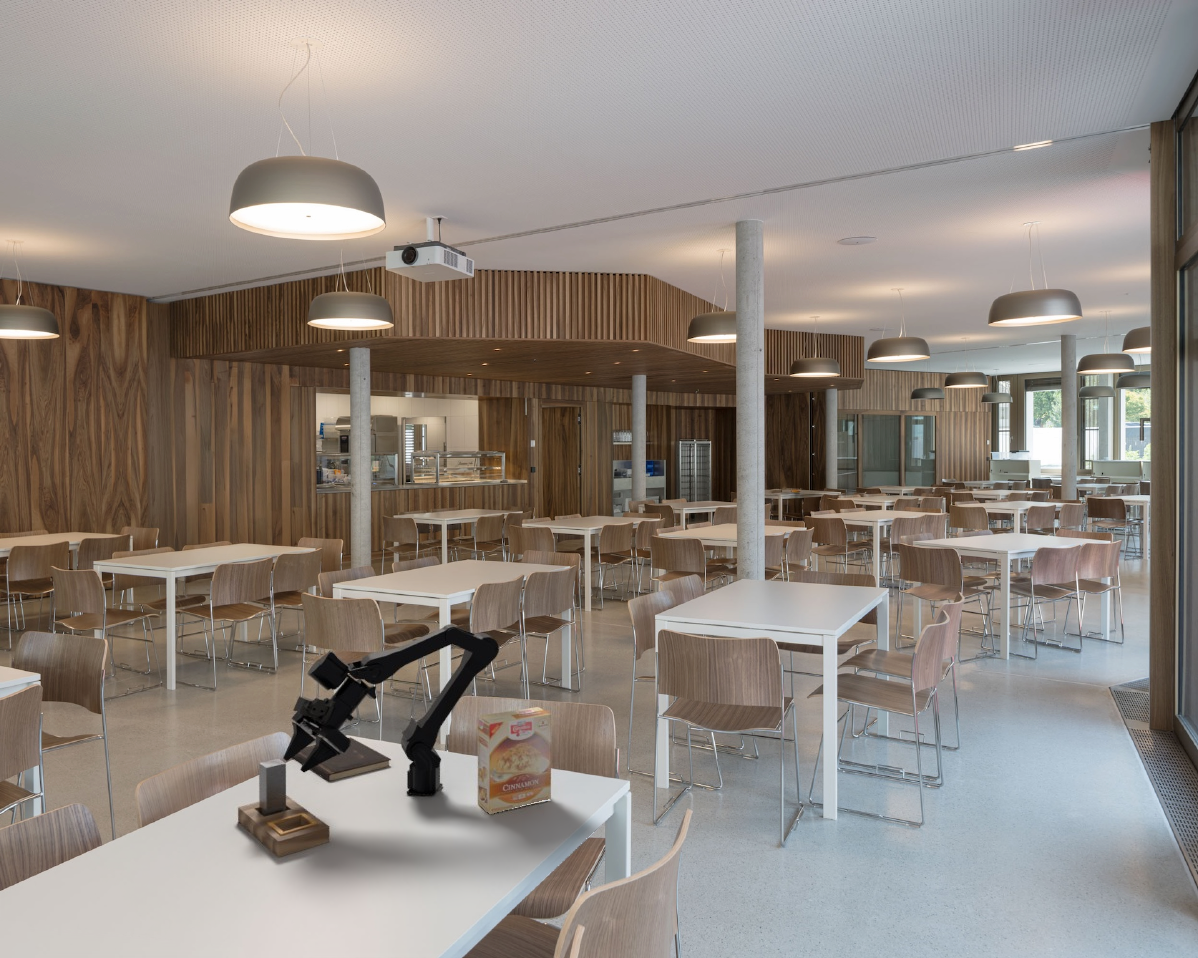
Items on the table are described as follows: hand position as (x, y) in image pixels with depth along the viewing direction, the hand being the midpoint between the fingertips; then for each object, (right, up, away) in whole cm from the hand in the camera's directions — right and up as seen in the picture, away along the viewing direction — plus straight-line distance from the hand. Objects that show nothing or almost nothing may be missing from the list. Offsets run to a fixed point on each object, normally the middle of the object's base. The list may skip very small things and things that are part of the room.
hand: (293, 765), depth 176 cm
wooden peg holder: (0, -11, -7) cm, 13 cm away
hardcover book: (-1, -12, +35) cm, 37 cm away
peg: (-3, -11, -3) cm, 12 cm away
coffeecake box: (+46, -11, +8) cm, 48 cm away
